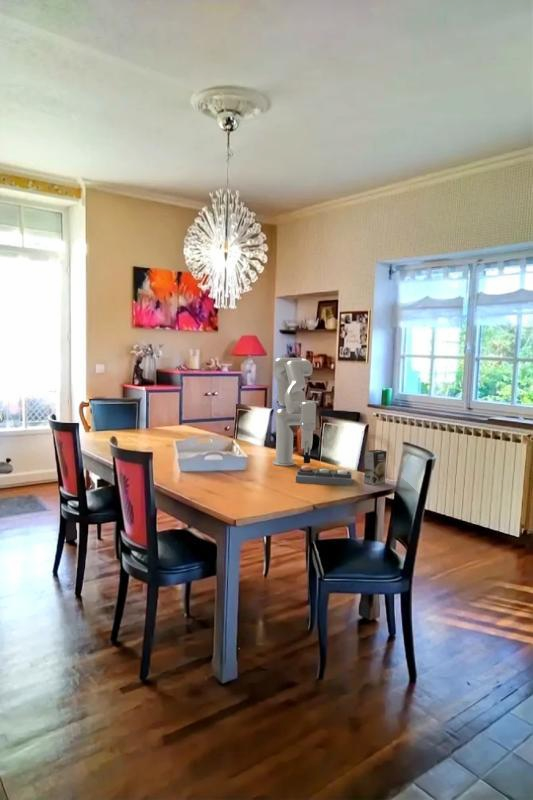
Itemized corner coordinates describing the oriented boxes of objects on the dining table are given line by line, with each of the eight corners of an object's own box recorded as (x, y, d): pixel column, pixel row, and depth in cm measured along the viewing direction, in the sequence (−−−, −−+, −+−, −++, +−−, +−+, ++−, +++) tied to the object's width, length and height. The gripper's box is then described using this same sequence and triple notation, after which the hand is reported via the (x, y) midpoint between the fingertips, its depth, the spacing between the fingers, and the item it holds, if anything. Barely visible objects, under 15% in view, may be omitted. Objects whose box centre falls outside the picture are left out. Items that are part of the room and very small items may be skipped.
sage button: (319, 472, 268) (319, 468, 268) (329, 472, 267) (329, 468, 267) (318, 474, 263) (319, 470, 263) (329, 475, 262) (329, 471, 262)
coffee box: (373, 485, 258) (375, 452, 257) (363, 482, 263) (365, 450, 262) (385, 482, 264) (387, 450, 263) (375, 480, 269) (376, 448, 267)
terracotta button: (301, 469, 269) (301, 465, 269) (311, 469, 268) (311, 465, 268) (300, 471, 264) (300, 467, 264) (310, 472, 263) (311, 468, 263)
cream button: (337, 473, 267) (337, 469, 266) (347, 474, 266) (347, 470, 266) (337, 475, 262) (337, 471, 261) (347, 476, 261) (347, 472, 261)
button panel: (298, 475, 274) (298, 467, 274) (351, 478, 270) (351, 470, 270) (295, 482, 260) (295, 473, 260) (351, 485, 256) (351, 476, 256)
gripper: (301, 424, 272) (300, 459, 273) (299, 428, 257) (298, 465, 259) (316, 425, 271) (315, 460, 272) (314, 428, 256) (313, 466, 257)
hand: (306, 462), depth 265 cm, fingers closed
